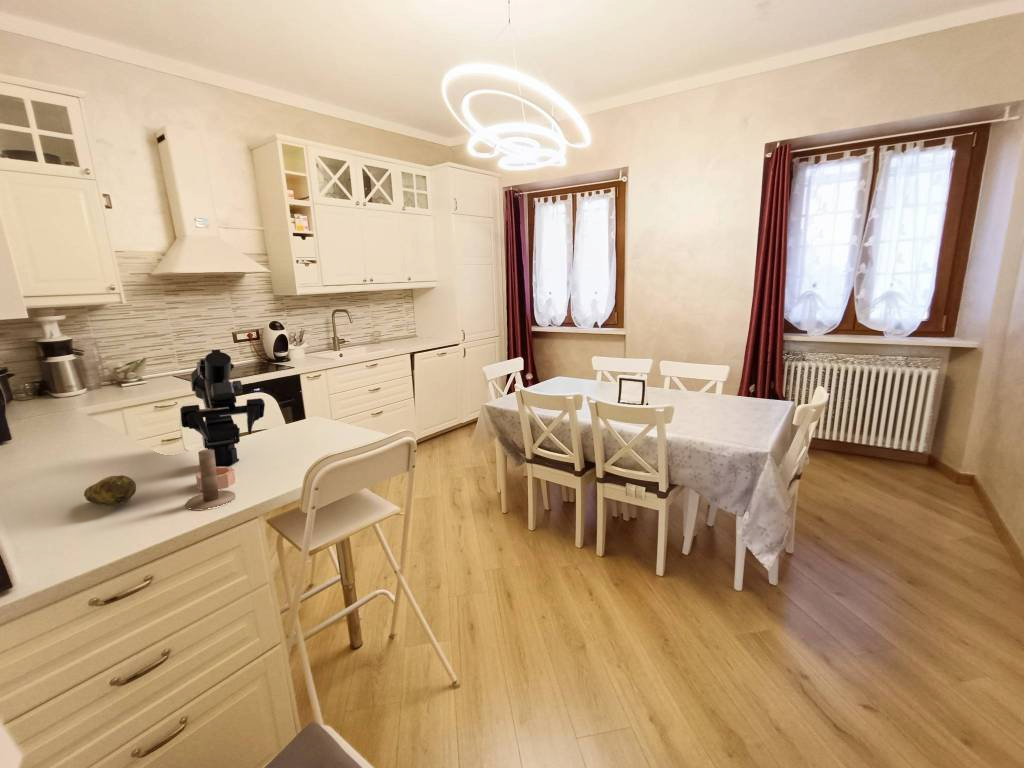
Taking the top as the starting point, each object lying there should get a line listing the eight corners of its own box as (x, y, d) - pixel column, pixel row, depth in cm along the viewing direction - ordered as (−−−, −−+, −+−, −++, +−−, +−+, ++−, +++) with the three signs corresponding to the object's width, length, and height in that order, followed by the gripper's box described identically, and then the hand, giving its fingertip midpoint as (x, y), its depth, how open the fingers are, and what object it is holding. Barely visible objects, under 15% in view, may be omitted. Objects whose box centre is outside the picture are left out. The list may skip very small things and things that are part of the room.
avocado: (128, 492, 113) (124, 462, 112) (142, 508, 105) (138, 476, 104) (84, 503, 107) (78, 472, 105) (95, 520, 99) (89, 486, 97)
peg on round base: (176, 510, 105) (170, 458, 102) (203, 492, 114) (198, 444, 112) (219, 510, 105) (214, 458, 103) (243, 492, 115) (239, 445, 113)
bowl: (191, 490, 115) (189, 477, 115) (210, 478, 123) (209, 466, 122) (222, 490, 116) (221, 478, 115) (240, 478, 123) (239, 466, 123)
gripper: (176, 374, 112) (184, 421, 104) (259, 369, 124) (272, 410, 116) (178, 404, 119) (185, 450, 111) (257, 396, 130) (269, 437, 123)
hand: (229, 436), depth 115 cm, fingers open, 9 cm apart
